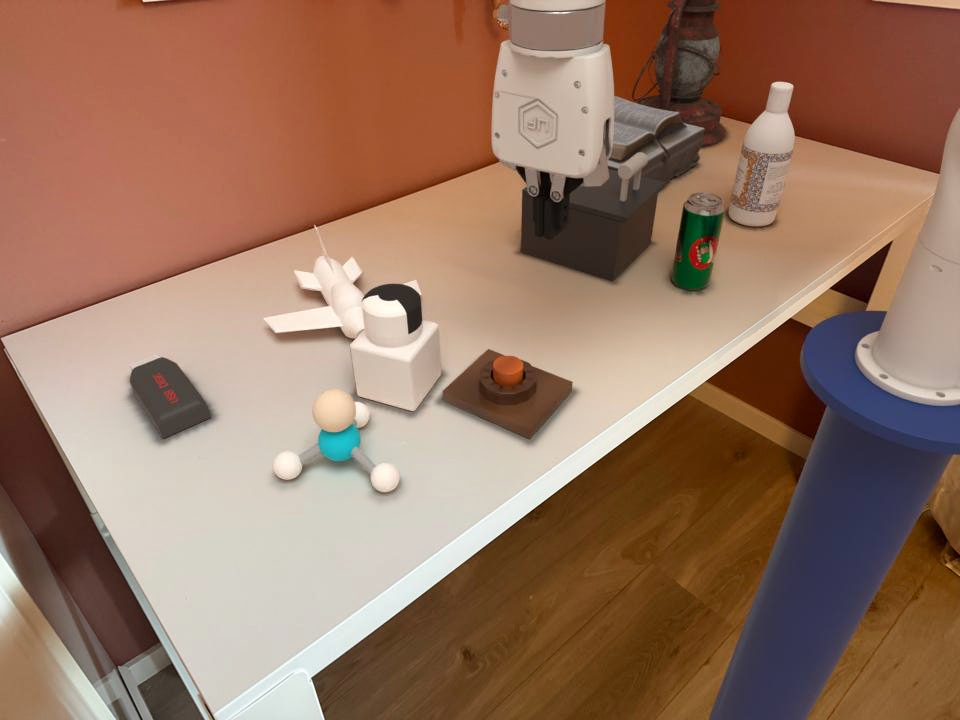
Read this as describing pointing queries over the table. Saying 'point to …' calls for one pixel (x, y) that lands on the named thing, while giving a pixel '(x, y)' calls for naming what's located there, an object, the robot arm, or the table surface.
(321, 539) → the table surface
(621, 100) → the bible
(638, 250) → the dark grey box
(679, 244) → the soda can
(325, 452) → the molecule model
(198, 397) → the usb drive
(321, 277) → the airplane model
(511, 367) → the button
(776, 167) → the bath foam
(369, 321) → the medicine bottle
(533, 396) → the brown base plate
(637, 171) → the door
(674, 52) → the lantern
